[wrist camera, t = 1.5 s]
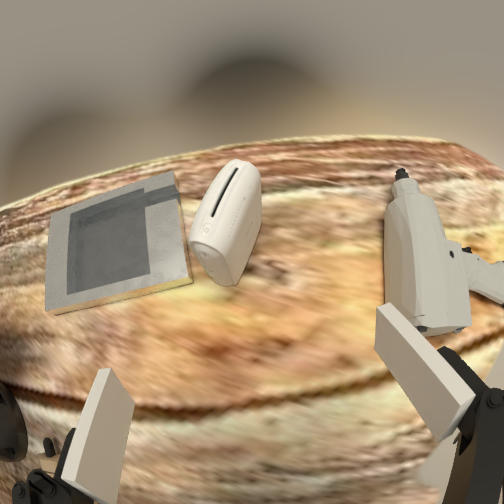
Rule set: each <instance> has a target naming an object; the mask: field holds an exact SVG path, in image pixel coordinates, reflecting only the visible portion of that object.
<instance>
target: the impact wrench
mask: <svg viewBox="0 0 504 504" xmlns="http://www.w3.org/2000/svg"><path fill="white" fill-rule="evenodd" d="M395 178H396V182H394V183H393V185H392V187H391V190H392V194H393V197H394V200H393V201H392V202H391V203H389V204H388V206H387V208H386V210H385V212H384V274H385V304H387V303H389V302H390V303H391V304H392V305H393V306H394V307H395V308H396V309H397V310H398V311H399V312H400V313H401V314H402V315H403V316H404V317H405V318H406V319H407V320H408V321H409V322H410V323H411V324H412V325H413V326H414V327H415V328H416V329H417V330H418V331H419V332H420V333H421V334H422V335H423V337H426V336H438V335H441V334H445V333H449V332H453V333H455V334H457V333H459V332H461V331H462V329H464V328H466V327H469V326H471V325H472V318H471V306H470V297H469V290H472V291H475V292H478V293H480V294H482V295H484V296H486V297H487V298H489V299H491V300H493V301H495V302H497V303H499V304H503V306H504V261H497V262H496V263H494V264H489V263H488V262H486V261H485V260H483V259H482V258H481V257H480V256H479V255H476V254H472V252H471V248H470V247H467V248H461V244H460V243H458V242H454V241H451V240H448V239H446V235H445V232H444V229H443V225H442V222H441V219H440V216H439V213H438V210H437V207H436V204H435V202H434V200H433V199H432V198H431V197H430V196H427V195H425V194H421V193H420V188H419V185H418V183H417V181H416V180H414V179H412V178H409V176H408V173H406V172H405V169H403V168H401V169H398V170H397V171H396V175H395Z"/></svg>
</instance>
